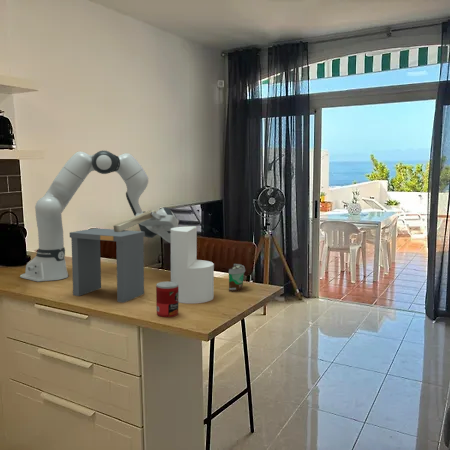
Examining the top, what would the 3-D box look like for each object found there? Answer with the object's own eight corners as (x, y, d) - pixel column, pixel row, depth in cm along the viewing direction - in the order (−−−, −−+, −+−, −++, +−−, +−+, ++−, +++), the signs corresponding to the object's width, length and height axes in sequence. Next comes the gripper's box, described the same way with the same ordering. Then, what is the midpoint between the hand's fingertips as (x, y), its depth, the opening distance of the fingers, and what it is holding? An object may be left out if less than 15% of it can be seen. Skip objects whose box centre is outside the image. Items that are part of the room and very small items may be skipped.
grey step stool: (70, 295, 183) (68, 232, 180) (97, 286, 198) (95, 228, 195) (121, 303, 173) (120, 236, 170) (145, 293, 188) (144, 231, 185)
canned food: (172, 318, 156) (172, 287, 155) (152, 315, 159) (151, 285, 158) (182, 312, 163) (182, 282, 162) (163, 309, 166) (162, 280, 165)
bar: (114, 231, 185) (113, 225, 184) (151, 215, 207) (150, 210, 206) (119, 231, 184) (119, 226, 183) (156, 215, 206) (155, 210, 205)
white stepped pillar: (165, 302, 176) (165, 231, 172) (176, 290, 193) (176, 225, 189) (209, 304, 173) (210, 232, 170) (216, 292, 190) (217, 226, 187)
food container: (242, 293, 190) (243, 270, 189) (228, 292, 191) (228, 269, 190) (247, 286, 202) (247, 264, 201) (233, 285, 203) (233, 263, 202)
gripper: (144, 218, 219) (130, 205, 207) (181, 220, 211) (168, 207, 199) (141, 230, 217) (126, 218, 205) (178, 232, 209) (165, 220, 197)
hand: (147, 213), depth 202 cm, fingers closed on bar, 3 cm apart
